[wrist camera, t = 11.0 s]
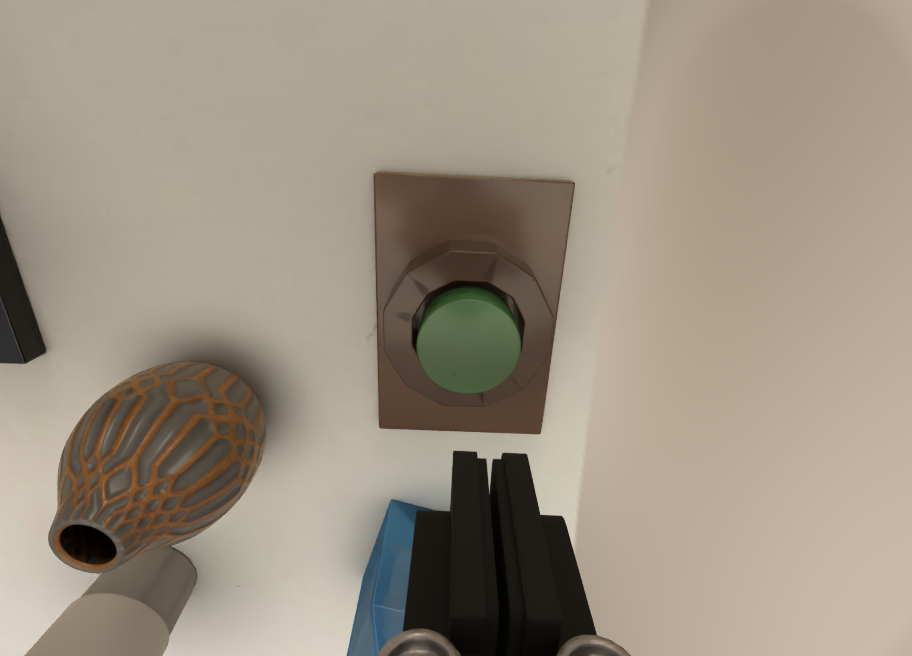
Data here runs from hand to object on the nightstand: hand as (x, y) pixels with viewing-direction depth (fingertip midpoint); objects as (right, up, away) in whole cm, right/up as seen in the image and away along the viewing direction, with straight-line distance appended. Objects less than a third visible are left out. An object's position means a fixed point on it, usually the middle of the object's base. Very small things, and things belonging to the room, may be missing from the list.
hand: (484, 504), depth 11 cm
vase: (-13, 0, +13) cm, 18 cm away
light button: (0, +4, +9) cm, 10 cm away
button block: (0, +5, +11) cm, 12 cm away
